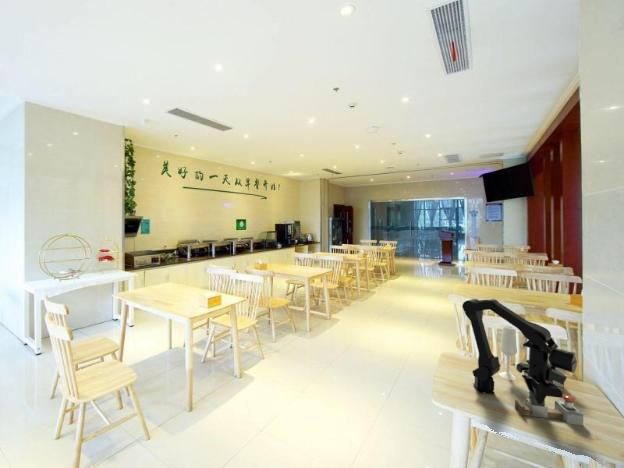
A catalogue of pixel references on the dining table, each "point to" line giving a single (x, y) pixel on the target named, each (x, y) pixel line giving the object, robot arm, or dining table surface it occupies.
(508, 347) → the champagne flute
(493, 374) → the robot arm
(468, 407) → the dining table surface
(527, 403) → the carriage
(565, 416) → the button housing
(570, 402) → the red plunger button
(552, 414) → the rail
